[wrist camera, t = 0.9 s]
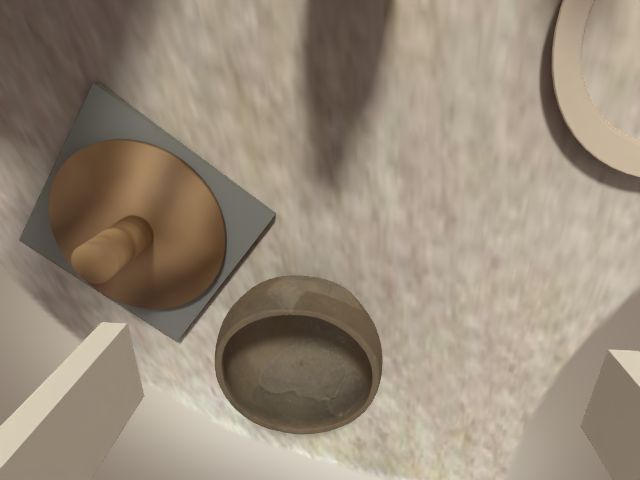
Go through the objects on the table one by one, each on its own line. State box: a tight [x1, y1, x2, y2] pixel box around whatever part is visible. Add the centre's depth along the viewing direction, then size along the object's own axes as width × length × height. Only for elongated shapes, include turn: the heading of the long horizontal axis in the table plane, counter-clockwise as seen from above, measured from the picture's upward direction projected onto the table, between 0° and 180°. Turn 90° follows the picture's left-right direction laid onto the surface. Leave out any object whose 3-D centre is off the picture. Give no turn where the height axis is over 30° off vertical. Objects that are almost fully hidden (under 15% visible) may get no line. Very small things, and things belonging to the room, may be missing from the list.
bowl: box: [215, 276, 382, 434], centre depth 45 cm, size 17×18×10 cm
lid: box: [48, 139, 227, 309], centre depth 42 cm, size 20×20×9 cm
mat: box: [19, 82, 276, 341], centre depth 47 cm, size 22×22×1 cm
